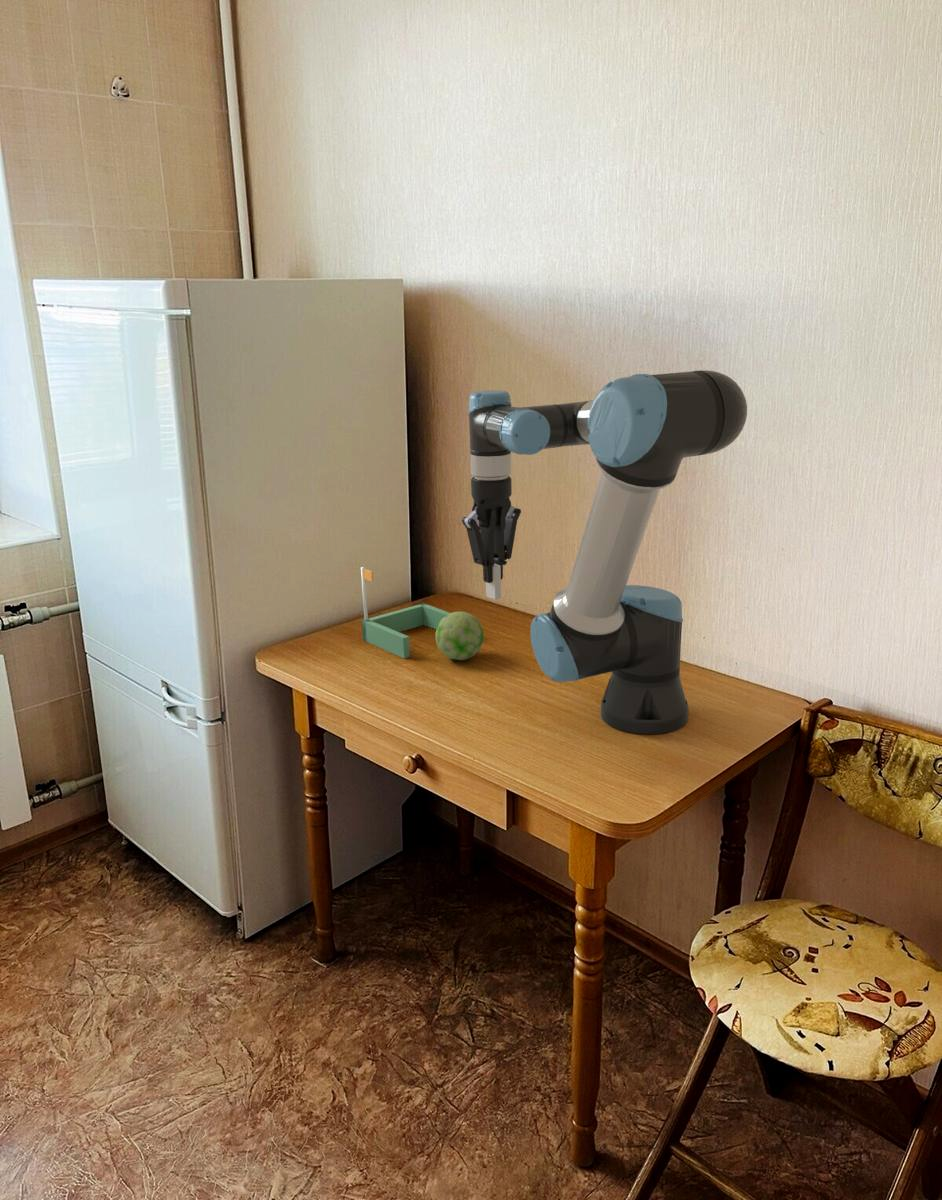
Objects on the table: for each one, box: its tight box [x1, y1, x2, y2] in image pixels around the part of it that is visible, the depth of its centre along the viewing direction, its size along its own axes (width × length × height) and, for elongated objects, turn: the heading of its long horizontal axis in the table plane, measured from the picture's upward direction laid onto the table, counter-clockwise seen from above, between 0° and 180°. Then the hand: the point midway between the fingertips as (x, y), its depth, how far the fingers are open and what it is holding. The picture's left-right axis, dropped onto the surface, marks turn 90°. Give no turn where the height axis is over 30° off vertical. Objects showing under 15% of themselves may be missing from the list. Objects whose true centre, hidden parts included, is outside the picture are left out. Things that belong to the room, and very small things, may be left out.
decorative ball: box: [434, 611, 484, 661], centre depth 195 cm, size 10×10×10 cm
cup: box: [360, 566, 451, 660], centre depth 206 cm, size 16×17×16 cm
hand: (493, 597), depth 184 cm, fingers closed
